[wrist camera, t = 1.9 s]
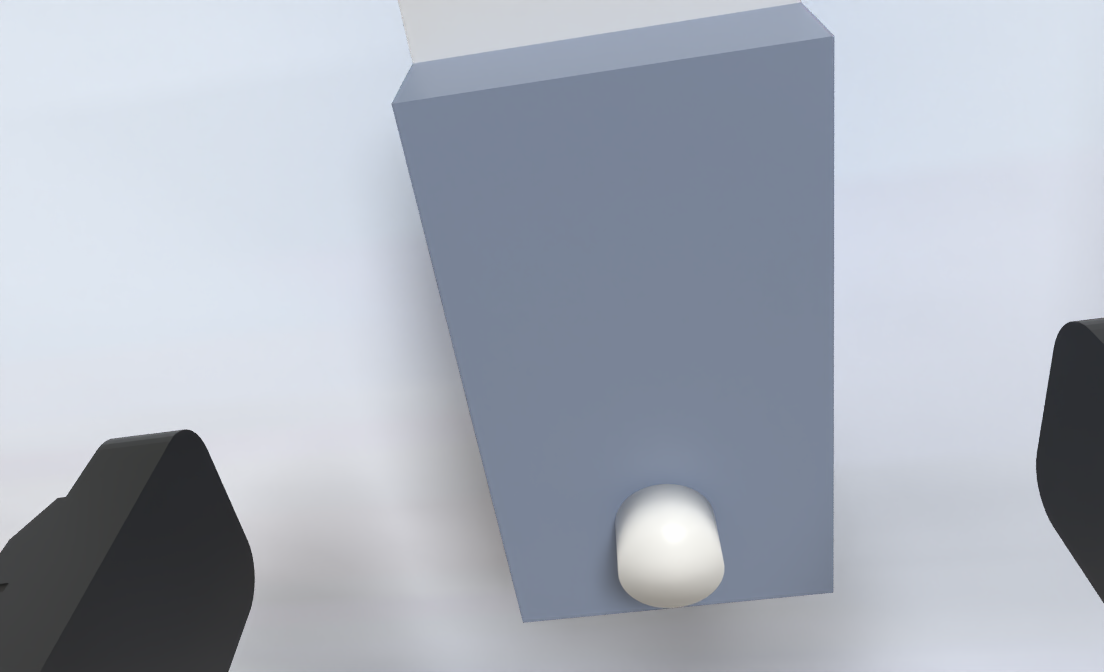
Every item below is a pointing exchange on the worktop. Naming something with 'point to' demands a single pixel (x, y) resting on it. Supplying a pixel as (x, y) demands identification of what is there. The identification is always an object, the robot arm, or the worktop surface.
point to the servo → (636, 287)
